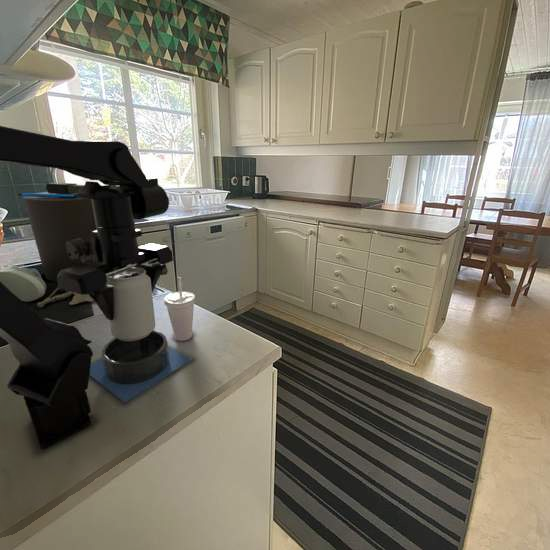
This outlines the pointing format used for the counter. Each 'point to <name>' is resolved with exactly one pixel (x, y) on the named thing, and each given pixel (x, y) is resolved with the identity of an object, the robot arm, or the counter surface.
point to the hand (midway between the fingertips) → (129, 309)
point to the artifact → (80, 298)
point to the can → (132, 304)
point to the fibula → (55, 297)
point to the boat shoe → (23, 282)
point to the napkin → (132, 390)
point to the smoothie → (181, 312)
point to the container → (59, 229)
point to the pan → (135, 358)
